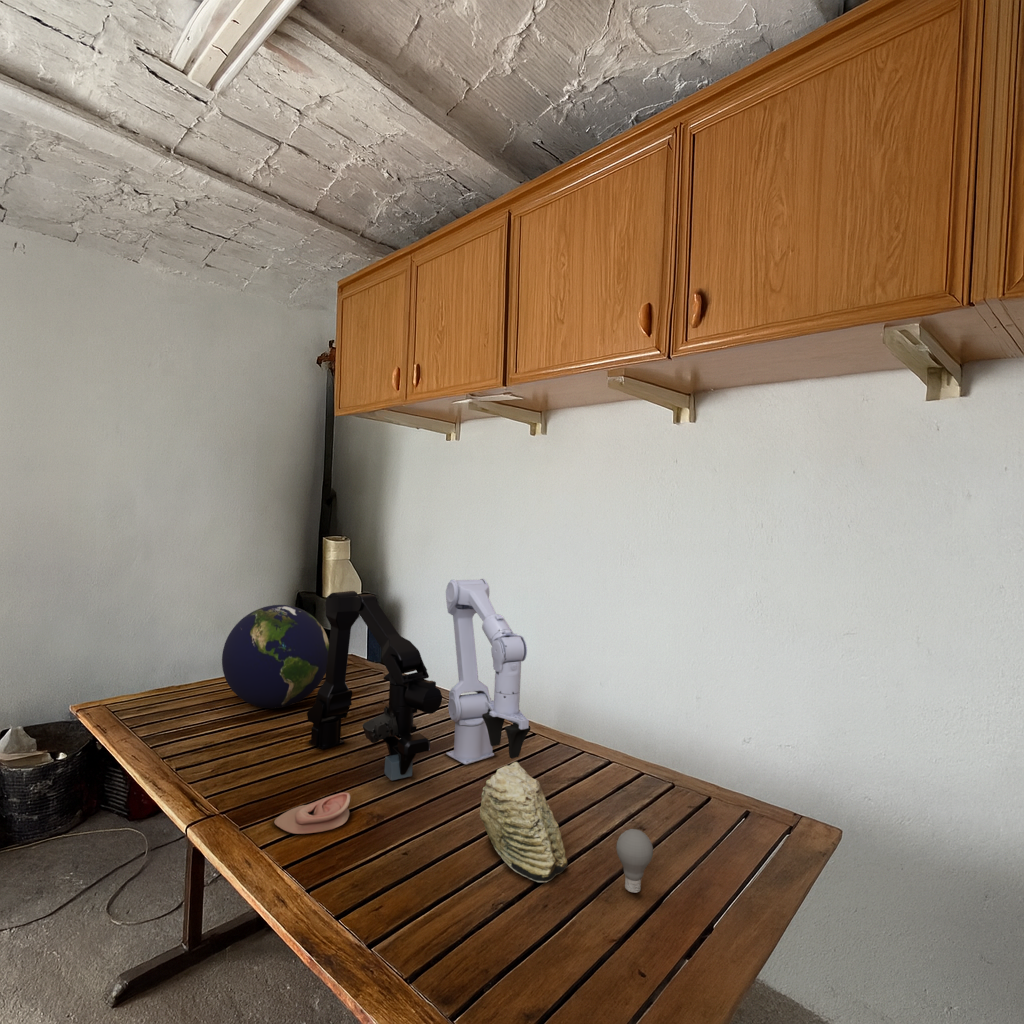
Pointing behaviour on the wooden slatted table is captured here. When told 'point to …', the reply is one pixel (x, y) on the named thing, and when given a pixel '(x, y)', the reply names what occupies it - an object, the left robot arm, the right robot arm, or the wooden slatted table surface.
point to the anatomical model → (316, 815)
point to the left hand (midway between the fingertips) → (398, 770)
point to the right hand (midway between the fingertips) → (504, 751)
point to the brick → (395, 768)
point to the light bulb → (634, 857)
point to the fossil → (522, 824)
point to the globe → (275, 656)
